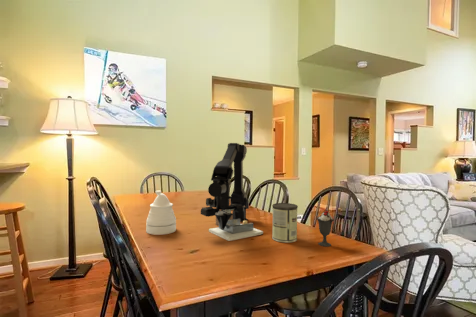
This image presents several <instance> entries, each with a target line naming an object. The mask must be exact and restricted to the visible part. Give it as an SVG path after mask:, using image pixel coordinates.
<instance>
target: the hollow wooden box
mask: <svg viewBox="0 0 476 317" xmlns="http://www.w3.org/2000/svg"><path fill="white" fill-rule="evenodd" d="M232 219H233V215H231V217H230V218H229V220H232ZM215 226H218V227H219V222H218V219H217V217H216V216H215Z"/></svg>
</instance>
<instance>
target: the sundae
mask: <svg viewBox="0 0 476 317" xmlns="http://www.w3.org/2000/svg"><path fill="white" fill-rule="evenodd" d="M327 209H328V207H327V206H326V207H325V209H324V211H323V212H322V213H321V215H320V216H318V217H316V221H317V222H318V232H319V233H320V234H321V235H322V241H320V242H317V245H318V246H321V247H327V248H328V247H331V246H332V244H331V243H329V242H328V241H327V237H328V236H329V235H330V234H331V231H332V225H333V222H334V221H335V219H334V218H333V217H332V216H331V214H330V212H329V211H328V210H327Z"/></svg>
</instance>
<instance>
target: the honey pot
mask: <svg viewBox="0 0 476 317" xmlns="http://www.w3.org/2000/svg"><path fill="white" fill-rule="evenodd" d="M155 194H156V197H155V198H154V200H153V202H152V203H150V204H149V207H150V209H149V211H148V215H147V218H146V221H145V222H146V226H145V229H146V230H145V232H146V233H147V234H149V235H155V236H159V235H168V234H169V235H170V234H172V233H174V232H176V231H177V218H176V215H175V213H174V212H175V211H174V209H173V206H174V203H172V202H171V201H170V200H169V198H168V196H167V195H166V194H165V193H162V190H155Z"/></svg>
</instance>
